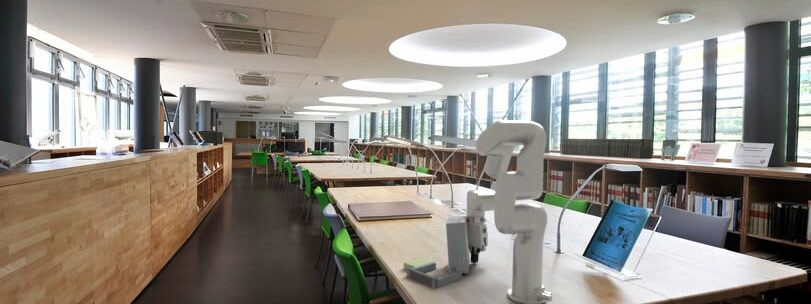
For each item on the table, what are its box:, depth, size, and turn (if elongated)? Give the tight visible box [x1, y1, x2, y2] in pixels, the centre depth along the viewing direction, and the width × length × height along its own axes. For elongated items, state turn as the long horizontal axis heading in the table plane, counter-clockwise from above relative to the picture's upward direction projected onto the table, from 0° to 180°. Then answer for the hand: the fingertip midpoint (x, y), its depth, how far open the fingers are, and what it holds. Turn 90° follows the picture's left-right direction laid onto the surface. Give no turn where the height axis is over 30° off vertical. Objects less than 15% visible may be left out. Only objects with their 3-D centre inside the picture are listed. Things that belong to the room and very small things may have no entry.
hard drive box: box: [445, 215, 471, 274], centre depth 155 cm, size 16×8×20 cm, turn 169°
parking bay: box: [406, 261, 463, 289], centre depth 145 cm, size 15×14×3 cm
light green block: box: [403, 257, 434, 271], centre depth 155 cm, size 7×10×3 cm
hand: (474, 262), depth 161 cm, fingers closed
